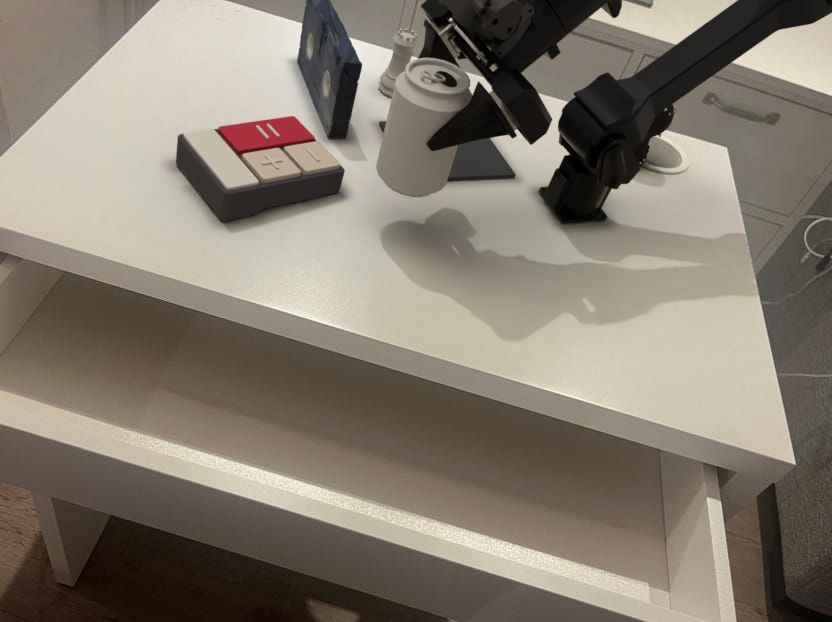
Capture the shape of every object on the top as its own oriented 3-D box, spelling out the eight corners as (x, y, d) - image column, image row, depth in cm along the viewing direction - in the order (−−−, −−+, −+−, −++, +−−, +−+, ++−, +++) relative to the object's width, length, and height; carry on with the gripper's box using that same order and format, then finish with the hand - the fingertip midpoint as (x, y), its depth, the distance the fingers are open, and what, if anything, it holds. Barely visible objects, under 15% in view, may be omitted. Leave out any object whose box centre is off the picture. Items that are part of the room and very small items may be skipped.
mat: (475, 123, 101) (476, 119, 101) (514, 177, 94) (516, 174, 94) (378, 124, 97) (379, 121, 96) (412, 182, 90) (413, 178, 89)
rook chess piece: (379, 78, 105) (392, 21, 99) (410, 86, 105) (425, 29, 99) (375, 94, 101) (388, 36, 96) (408, 102, 102) (423, 45, 96)
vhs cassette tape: (347, 140, 93) (363, 63, 86) (323, 139, 92) (338, 62, 85) (317, 62, 104) (329, -11, 97) (296, 61, 103) (306, -13, 96)
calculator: (348, 164, 83) (226, 188, 75) (339, 197, 86) (221, 222, 78) (295, 110, 88) (176, 127, 80) (289, 143, 91) (174, 162, 83)
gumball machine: (658, 172, 102) (697, 105, 94) (622, 175, 100) (659, 106, 92) (630, 143, 106) (665, 76, 98) (595, 145, 103) (629, 77, 96)
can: (456, 199, 78) (491, 93, 70) (389, 205, 76) (417, 96, 67) (427, 156, 83) (457, 51, 74) (364, 160, 80) (387, 52, 71)
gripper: (465, -101, 69) (333, 20, 73) (573, -4, 58) (411, 131, 62) (510, -12, 77) (390, 91, 82) (611, 87, 67) (467, 200, 71)
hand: (412, 124), depth 74 cm, fingers closed on can, 7 cm apart
